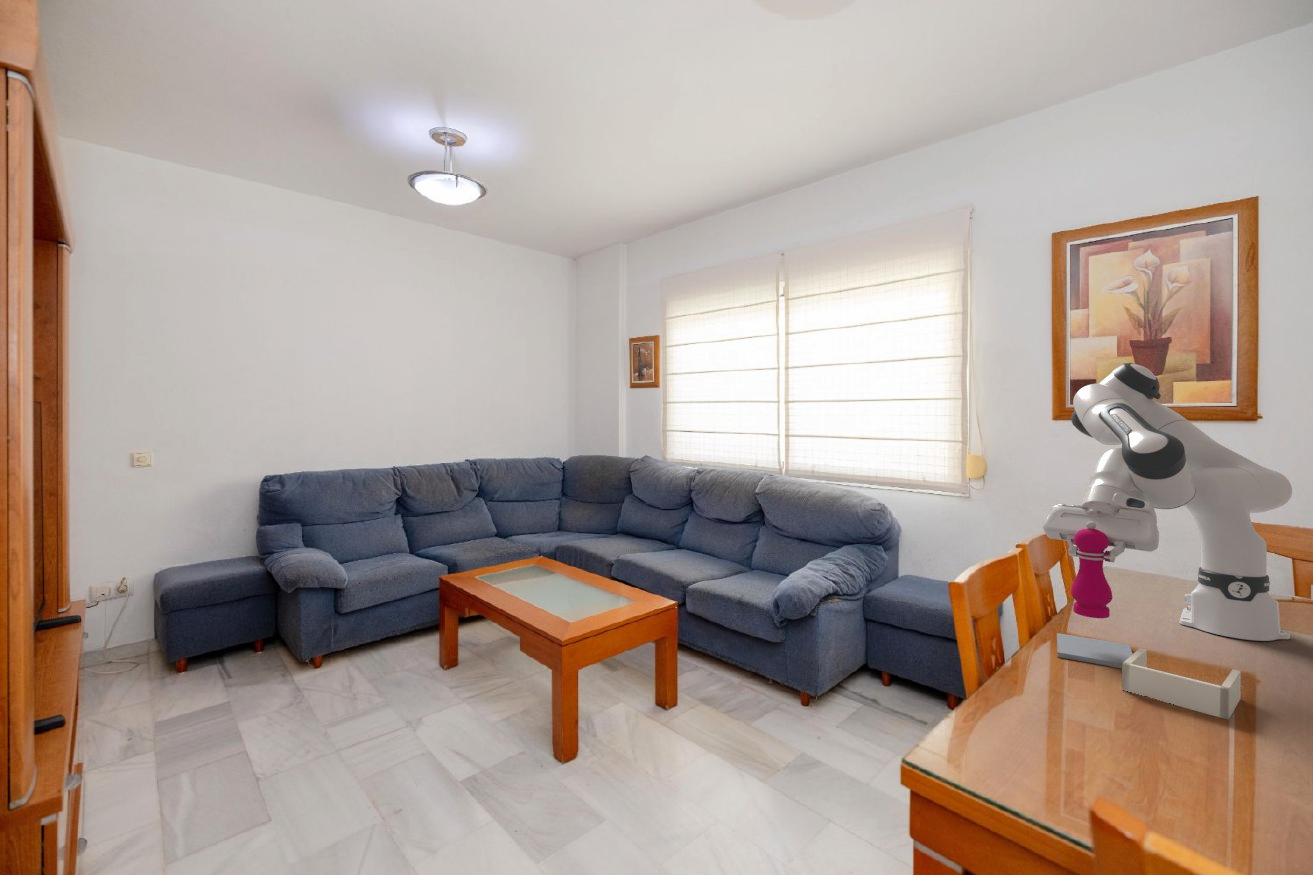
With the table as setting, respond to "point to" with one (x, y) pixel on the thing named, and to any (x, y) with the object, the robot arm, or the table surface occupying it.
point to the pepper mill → (1091, 574)
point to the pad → (1092, 650)
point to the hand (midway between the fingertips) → (1090, 557)
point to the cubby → (1181, 687)
